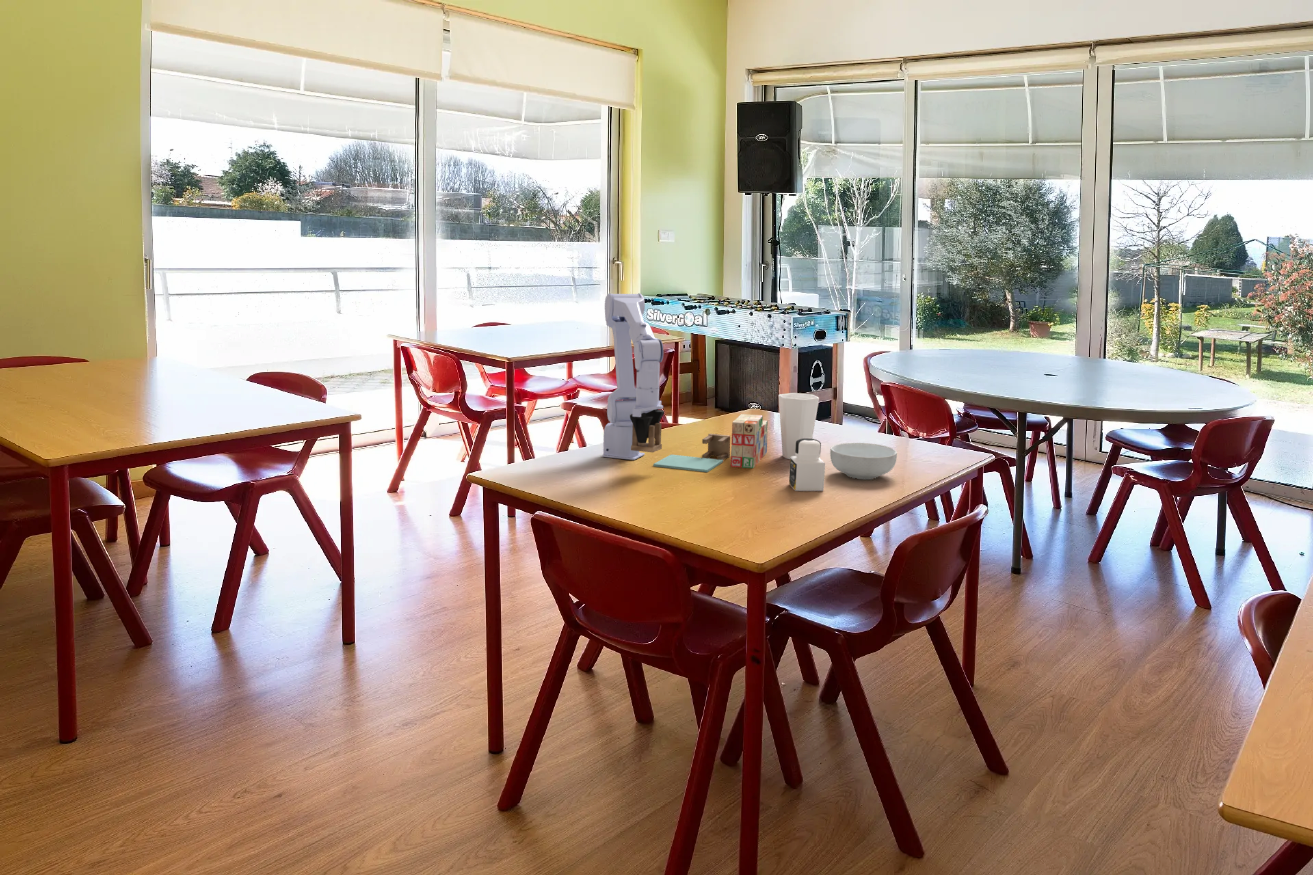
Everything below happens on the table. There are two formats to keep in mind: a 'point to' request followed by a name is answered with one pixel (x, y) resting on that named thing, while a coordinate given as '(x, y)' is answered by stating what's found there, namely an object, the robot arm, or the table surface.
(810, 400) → the cup
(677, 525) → the table surface
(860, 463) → the cereal bowl
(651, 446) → the upturned stool
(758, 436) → the stack of blocks
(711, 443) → the toppled stool
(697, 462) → the mat
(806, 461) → the medicine bottle
